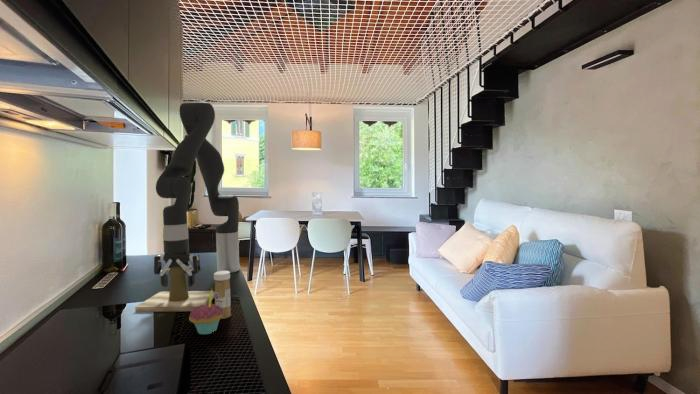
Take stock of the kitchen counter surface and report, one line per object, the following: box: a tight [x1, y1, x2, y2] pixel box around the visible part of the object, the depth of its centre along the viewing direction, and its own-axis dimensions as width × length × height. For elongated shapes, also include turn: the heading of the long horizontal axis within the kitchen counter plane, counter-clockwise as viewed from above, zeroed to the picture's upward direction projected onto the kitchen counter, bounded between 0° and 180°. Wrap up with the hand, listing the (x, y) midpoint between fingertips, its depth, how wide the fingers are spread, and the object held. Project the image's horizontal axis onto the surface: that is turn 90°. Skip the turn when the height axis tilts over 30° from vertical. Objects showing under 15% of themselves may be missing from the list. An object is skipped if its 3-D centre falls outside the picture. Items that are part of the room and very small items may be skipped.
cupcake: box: [188, 288, 223, 335], centre depth 99 cm, size 9×8×12 cm
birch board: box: [134, 290, 215, 313], centre depth 122 cm, size 15×20×2 cm
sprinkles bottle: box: [213, 271, 232, 320], centre depth 109 cm, size 5×5×13 cm
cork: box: [168, 267, 189, 301], centre depth 122 cm, size 6×6×11 cm
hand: (178, 286), depth 122 cm, fingers open, 8 cm apart
